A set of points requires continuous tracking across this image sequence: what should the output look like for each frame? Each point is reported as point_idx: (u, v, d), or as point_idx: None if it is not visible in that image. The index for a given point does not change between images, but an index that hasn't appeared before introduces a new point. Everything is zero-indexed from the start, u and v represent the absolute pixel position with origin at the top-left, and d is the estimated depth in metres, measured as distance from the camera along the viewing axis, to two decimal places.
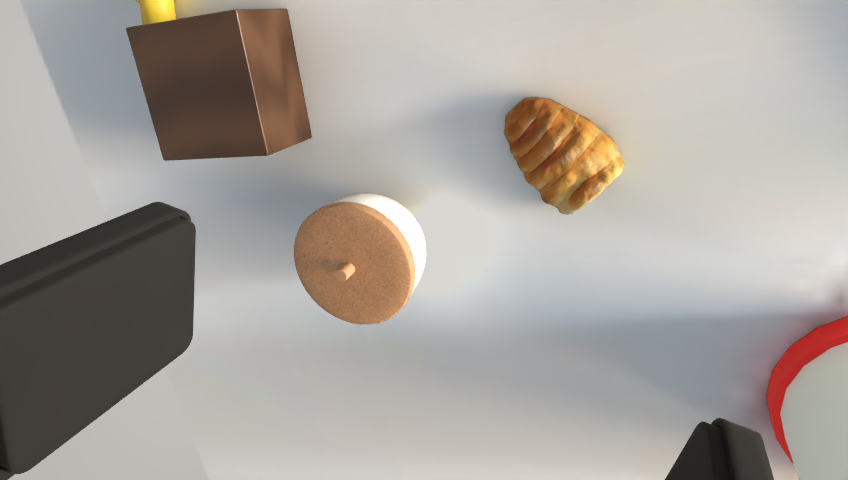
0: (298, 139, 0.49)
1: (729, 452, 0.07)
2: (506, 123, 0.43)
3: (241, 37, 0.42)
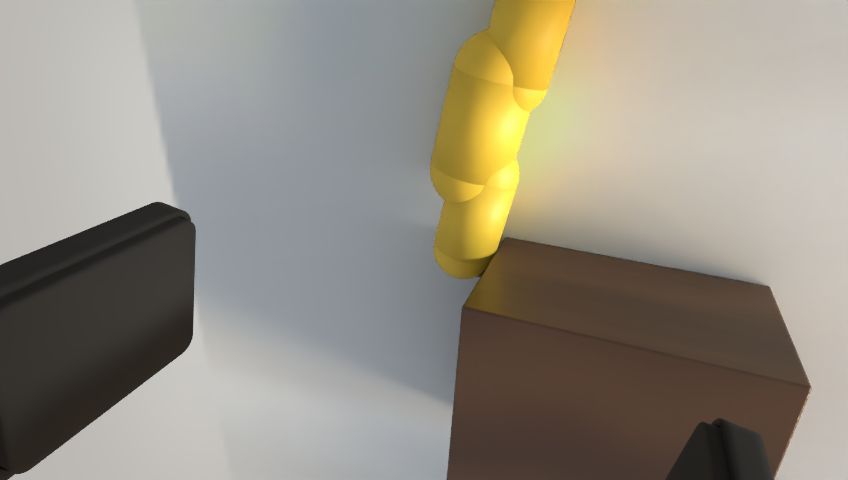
0: None
1: (729, 452, 0.07)
2: None
3: (791, 437, 0.17)
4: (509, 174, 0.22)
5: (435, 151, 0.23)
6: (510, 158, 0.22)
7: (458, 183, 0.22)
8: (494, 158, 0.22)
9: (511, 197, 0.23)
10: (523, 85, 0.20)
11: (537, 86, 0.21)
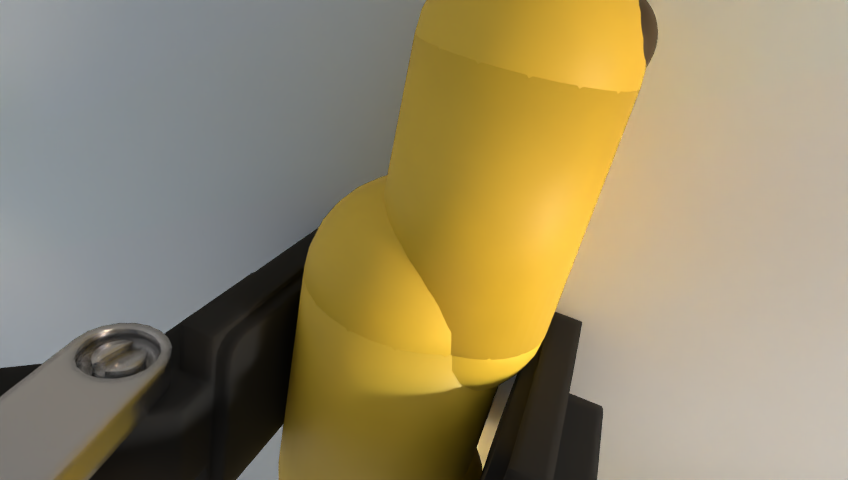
0: None
1: (548, 331, 0.09)
2: None
3: None
4: None
5: (282, 446, 0.10)
6: (457, 479, 0.09)
7: None
8: None
9: None
10: (481, 352, 0.07)
11: (520, 346, 0.07)
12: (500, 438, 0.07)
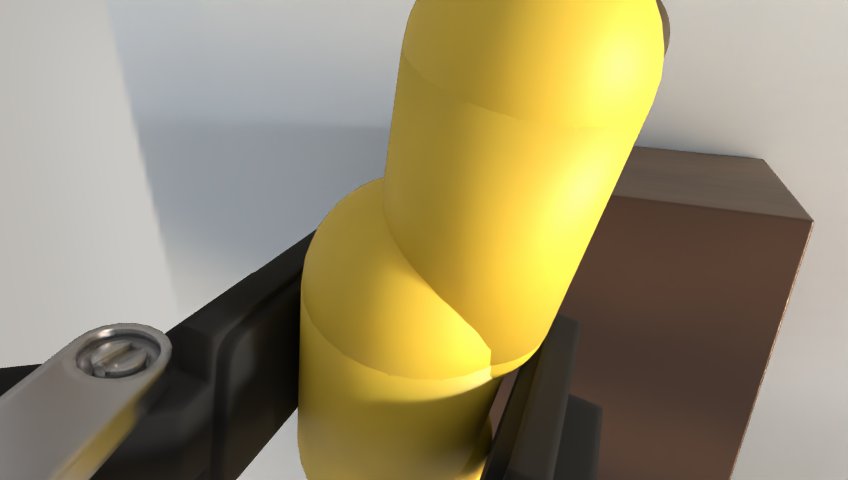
0: None
1: (548, 331, 0.09)
2: None
3: (793, 284, 0.16)
4: (482, 455, 0.10)
5: (307, 454, 0.10)
6: (480, 432, 0.10)
7: None
8: (455, 466, 0.09)
9: None
10: (515, 354, 0.08)
11: None
12: (500, 438, 0.07)
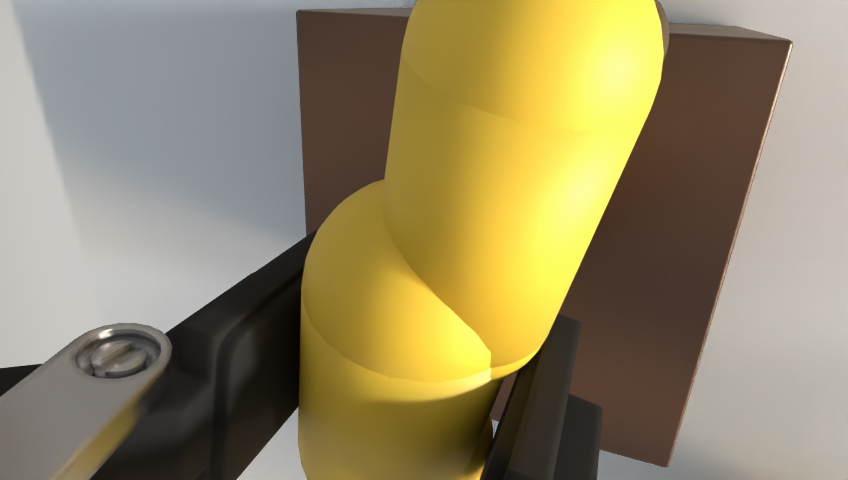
0: None
1: None
2: None
3: (764, 140, 0.11)
4: (483, 457, 0.10)
5: (308, 456, 0.10)
6: (481, 435, 0.10)
7: None
8: (455, 468, 0.09)
9: None
10: (516, 356, 0.08)
11: None
12: (500, 438, 0.07)
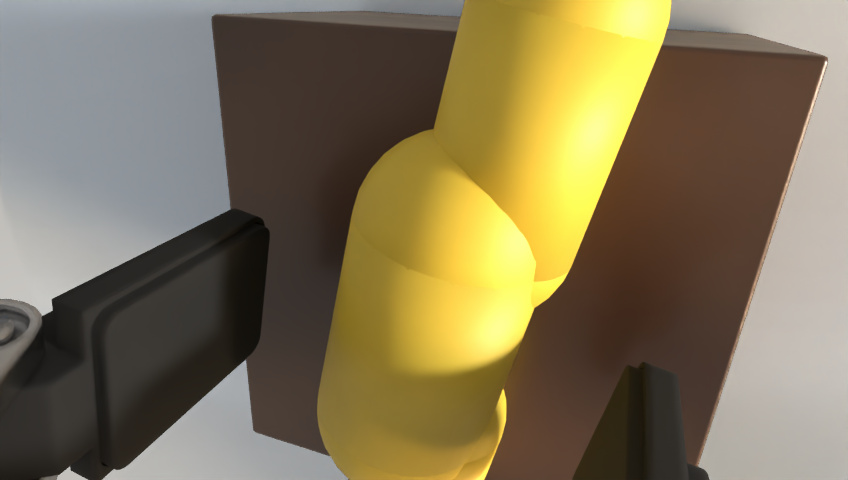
0: None
1: (646, 388, 0.08)
2: None
3: (788, 182, 0.09)
4: (502, 416, 0.11)
5: (339, 416, 0.10)
6: None
7: None
8: (485, 414, 0.10)
9: None
10: (553, 273, 0.09)
11: None
12: None
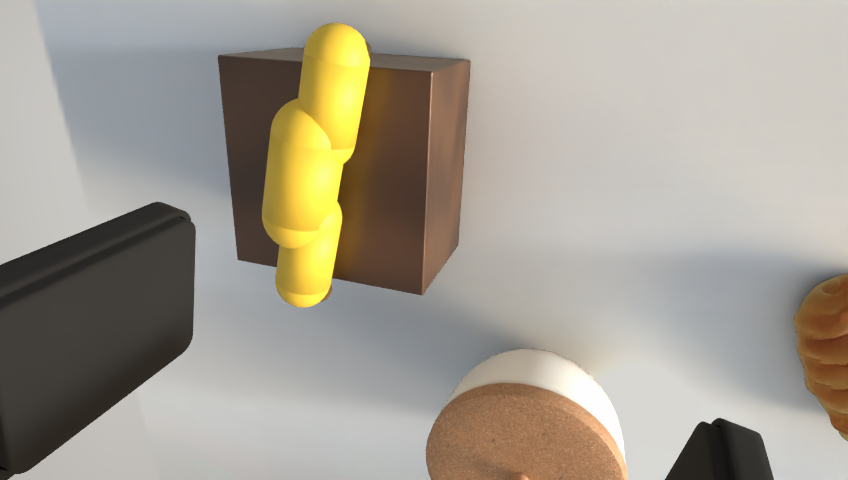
0: (448, 254, 0.32)
1: (729, 452, 0.07)
2: (810, 309, 0.28)
3: (430, 116, 0.25)
4: (336, 216, 0.26)
5: (267, 208, 0.26)
6: (334, 203, 0.26)
7: (295, 233, 0.26)
8: (323, 207, 0.25)
9: (339, 233, 0.27)
10: (339, 147, 0.24)
11: (349, 145, 0.25)
12: None
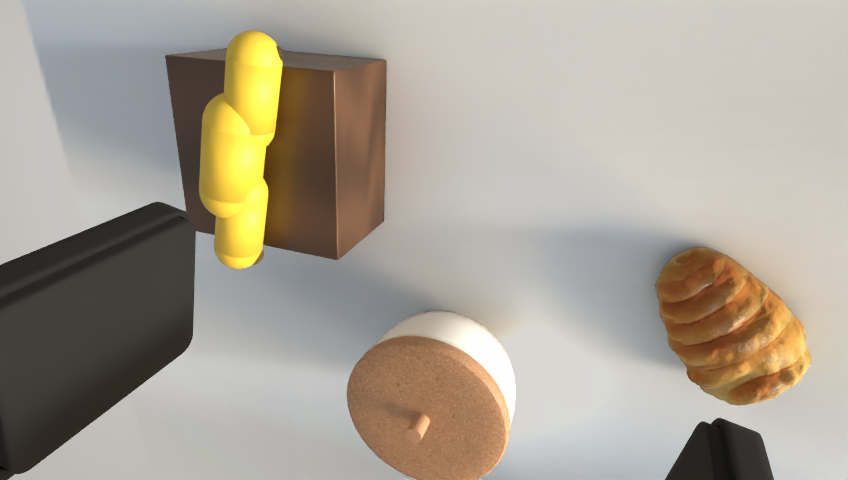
0: (371, 228, 0.38)
1: (729, 452, 0.07)
2: (665, 276, 0.32)
3: (335, 108, 0.30)
4: (260, 191, 0.32)
5: (201, 183, 0.31)
6: (258, 180, 0.31)
7: (224, 204, 0.31)
8: (247, 183, 0.31)
9: (265, 206, 0.32)
10: (257, 133, 0.29)
11: (267, 132, 0.30)
12: None
